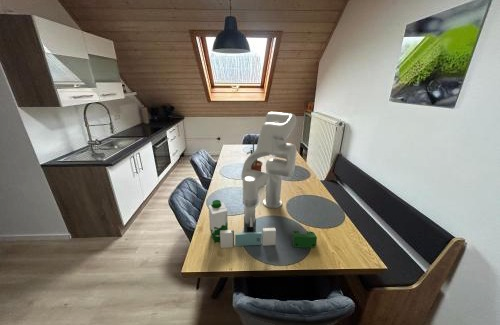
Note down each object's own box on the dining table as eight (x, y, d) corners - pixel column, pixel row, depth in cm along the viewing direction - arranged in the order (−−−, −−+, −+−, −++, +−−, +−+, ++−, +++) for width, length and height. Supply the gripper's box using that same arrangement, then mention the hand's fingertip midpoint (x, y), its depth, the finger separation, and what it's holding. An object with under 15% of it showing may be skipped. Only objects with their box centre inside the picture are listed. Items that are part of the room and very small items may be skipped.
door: (235, 244, 106) (235, 233, 103) (260, 242, 107) (261, 231, 104) (235, 247, 104) (235, 236, 101) (261, 246, 105) (262, 235, 102)
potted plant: (243, 177, 175) (243, 136, 161) (259, 174, 181) (261, 135, 168) (252, 187, 160) (253, 143, 147) (269, 183, 166) (272, 140, 153)
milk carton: (224, 229, 117) (223, 197, 109) (230, 240, 109) (229, 207, 101) (209, 233, 113) (206, 201, 106) (213, 244, 106) (211, 211, 98)
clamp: (308, 247, 111) (316, 232, 110) (311, 254, 105) (320, 238, 104) (288, 238, 110) (295, 223, 109) (289, 244, 104) (298, 228, 103)
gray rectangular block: (243, 228, 116) (243, 216, 113) (254, 227, 116) (255, 215, 113) (244, 233, 112) (244, 221, 109) (255, 233, 112) (256, 220, 109)
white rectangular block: (220, 244, 106) (220, 230, 102) (273, 241, 108) (275, 227, 105) (220, 247, 104) (219, 233, 100) (274, 244, 106) (275, 230, 103)
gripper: (241, 191, 114) (241, 219, 121) (243, 210, 98) (243, 240, 105) (255, 191, 114) (254, 218, 122) (259, 209, 99) (258, 239, 106)
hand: (249, 228), depth 113 cm, fingers closed on gray rectangular block, 4 cm apart
